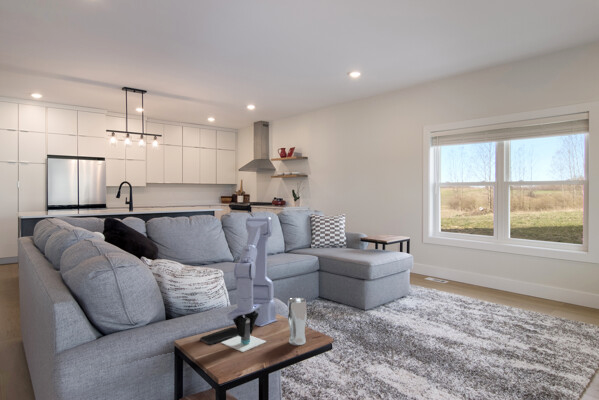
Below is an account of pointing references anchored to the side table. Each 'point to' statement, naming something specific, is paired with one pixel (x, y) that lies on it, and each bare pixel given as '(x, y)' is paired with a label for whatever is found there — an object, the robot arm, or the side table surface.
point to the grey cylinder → (246, 332)
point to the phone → (220, 336)
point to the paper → (243, 347)
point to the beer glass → (297, 320)
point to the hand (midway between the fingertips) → (245, 334)
